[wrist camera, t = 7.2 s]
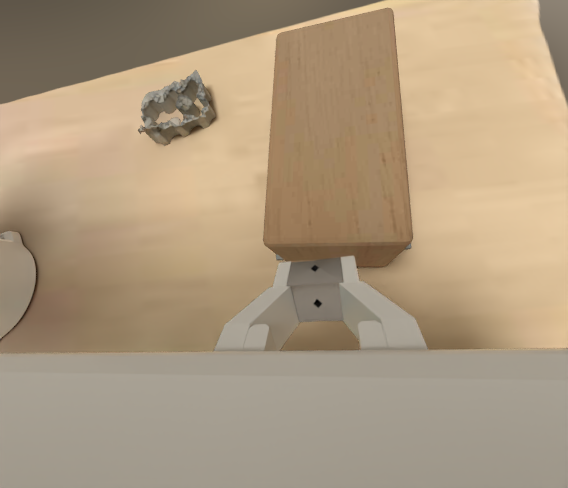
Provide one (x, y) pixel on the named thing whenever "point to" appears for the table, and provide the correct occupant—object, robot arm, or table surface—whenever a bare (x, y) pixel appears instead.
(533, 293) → the table surface
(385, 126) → the wooden block
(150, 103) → the egg carton
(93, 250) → the table surface
